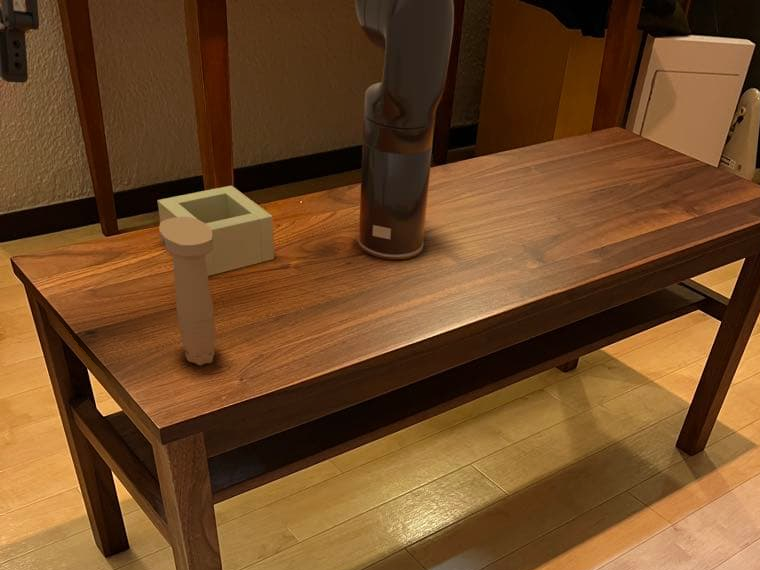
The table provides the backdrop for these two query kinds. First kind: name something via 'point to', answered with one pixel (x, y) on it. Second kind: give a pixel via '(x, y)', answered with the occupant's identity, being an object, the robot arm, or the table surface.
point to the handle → (191, 284)
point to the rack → (226, 226)
